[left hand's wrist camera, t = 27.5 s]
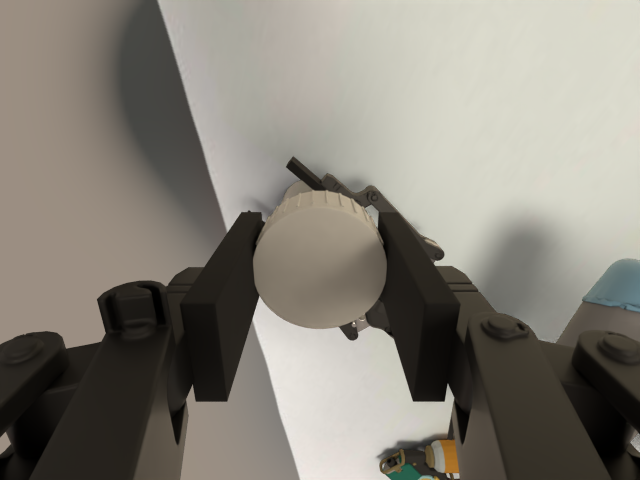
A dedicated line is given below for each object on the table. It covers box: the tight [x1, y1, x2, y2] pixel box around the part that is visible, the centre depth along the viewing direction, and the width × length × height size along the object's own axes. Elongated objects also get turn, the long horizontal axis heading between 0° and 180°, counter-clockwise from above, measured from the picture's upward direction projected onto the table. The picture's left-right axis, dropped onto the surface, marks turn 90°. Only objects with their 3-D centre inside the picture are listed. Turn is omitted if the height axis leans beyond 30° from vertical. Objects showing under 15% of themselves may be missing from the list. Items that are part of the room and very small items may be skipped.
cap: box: [253, 190, 387, 329], centre depth 13 cm, size 5×5×2 cm
